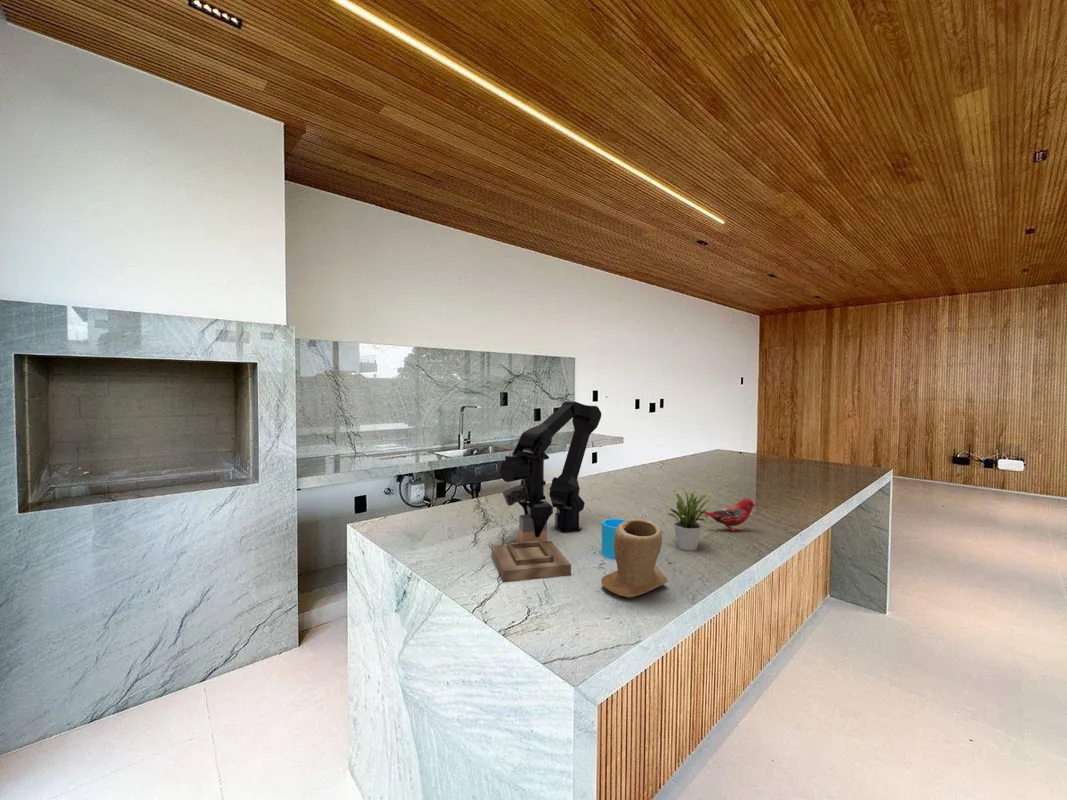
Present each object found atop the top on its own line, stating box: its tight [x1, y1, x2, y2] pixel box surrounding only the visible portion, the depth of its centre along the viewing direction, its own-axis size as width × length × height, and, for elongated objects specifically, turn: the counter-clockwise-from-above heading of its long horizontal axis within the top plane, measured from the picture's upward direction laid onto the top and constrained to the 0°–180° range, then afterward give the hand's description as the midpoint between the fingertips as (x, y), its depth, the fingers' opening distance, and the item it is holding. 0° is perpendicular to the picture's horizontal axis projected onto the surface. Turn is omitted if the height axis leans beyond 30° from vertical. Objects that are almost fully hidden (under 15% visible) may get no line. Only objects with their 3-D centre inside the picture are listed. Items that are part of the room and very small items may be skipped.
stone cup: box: [600, 518, 669, 598], centre depth 101 cm, size 15×12×15 cm
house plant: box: [664, 487, 716, 552], centre depth 125 cm, size 14×14×16 cm
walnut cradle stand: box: [491, 540, 572, 583], centre depth 113 cm, size 16×16×4 cm
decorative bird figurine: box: [699, 498, 756, 532], centre depth 140 cm, size 3×18×10 cm, turn 89°
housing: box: [518, 514, 548, 542], centre depth 130 cm, size 7×4×7 cm, turn 104°
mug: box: [601, 518, 627, 561], centre depth 122 cm, size 12×8×8 cm
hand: (533, 531), depth 130 cm, fingers open, 9 cm apart
